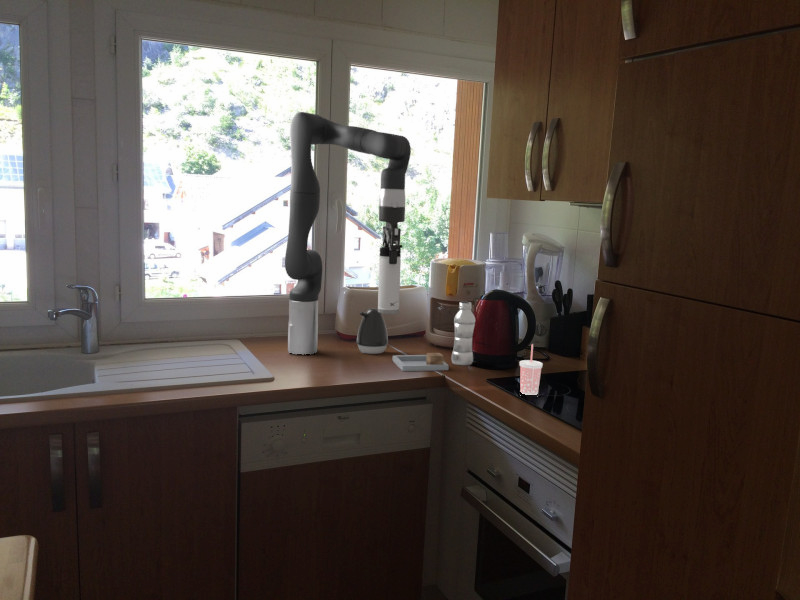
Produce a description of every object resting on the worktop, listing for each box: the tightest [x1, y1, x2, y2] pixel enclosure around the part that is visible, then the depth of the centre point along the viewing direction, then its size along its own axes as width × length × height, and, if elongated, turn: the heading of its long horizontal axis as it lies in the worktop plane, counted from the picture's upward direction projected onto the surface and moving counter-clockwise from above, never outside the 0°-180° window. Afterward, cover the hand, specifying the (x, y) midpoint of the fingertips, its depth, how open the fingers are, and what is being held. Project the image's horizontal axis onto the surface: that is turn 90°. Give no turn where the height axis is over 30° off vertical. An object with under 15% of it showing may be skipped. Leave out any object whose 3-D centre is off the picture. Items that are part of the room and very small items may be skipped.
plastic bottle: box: [451, 301, 476, 366], centre depth 207 cm, size 6×7×20 cm
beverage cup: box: [519, 343, 544, 395], centre depth 178 cm, size 6×6×14 cm
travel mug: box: [377, 244, 403, 315], centre depth 197 cm, size 6×7×20 cm
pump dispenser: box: [356, 307, 389, 355], centre depth 219 cm, size 10×10×15 cm
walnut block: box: [426, 352, 444, 365], centre depth 201 cm, size 4×4×4 cm
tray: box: [392, 354, 449, 372], centre depth 203 cm, size 14×13×2 cm
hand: (390, 262), depth 196 cm, fingers closed on travel mug, 6 cm apart
